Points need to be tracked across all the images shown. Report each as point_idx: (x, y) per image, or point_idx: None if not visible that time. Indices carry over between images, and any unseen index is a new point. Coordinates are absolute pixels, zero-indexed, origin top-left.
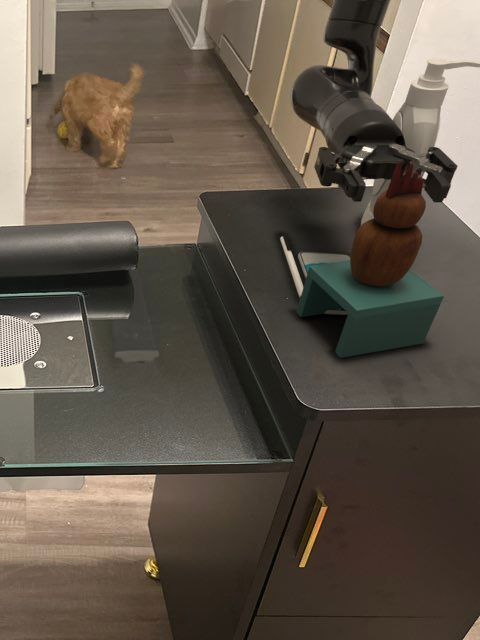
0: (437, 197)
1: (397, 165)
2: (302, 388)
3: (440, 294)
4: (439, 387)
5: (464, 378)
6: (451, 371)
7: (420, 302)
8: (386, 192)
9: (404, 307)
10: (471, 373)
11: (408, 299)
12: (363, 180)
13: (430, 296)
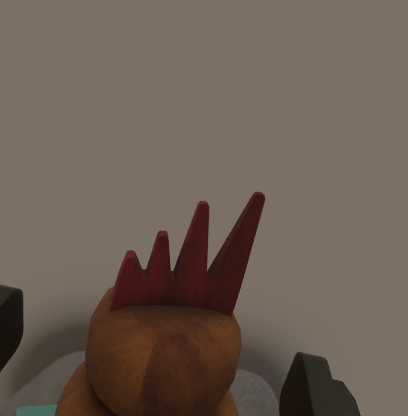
0: (21, 324)
1: (261, 206)
2: (271, 404)
3: (22, 410)
4: None
5: (35, 387)
6: (39, 404)
7: None
8: (222, 327)
9: None
10: (13, 395)
11: None
12: (307, 379)
13: (49, 409)
